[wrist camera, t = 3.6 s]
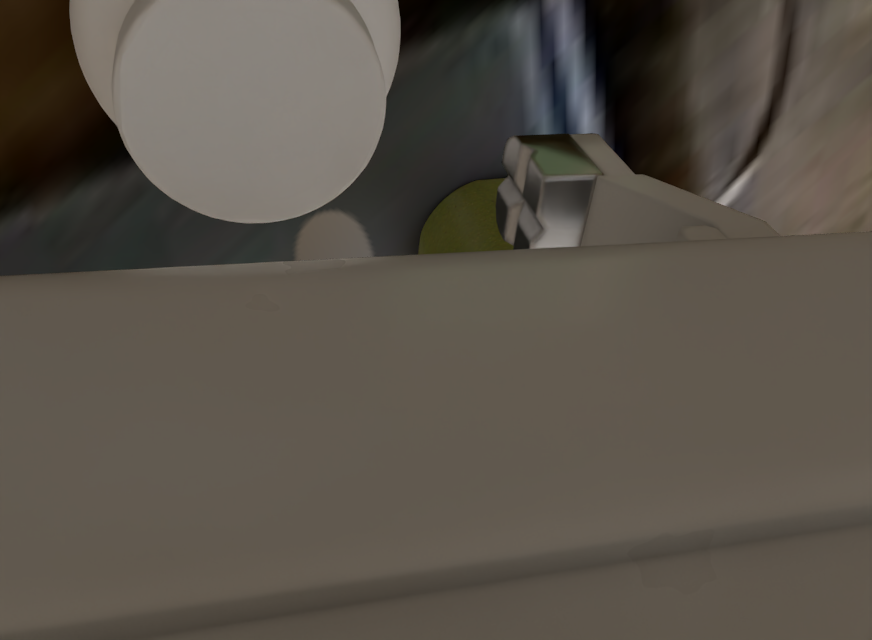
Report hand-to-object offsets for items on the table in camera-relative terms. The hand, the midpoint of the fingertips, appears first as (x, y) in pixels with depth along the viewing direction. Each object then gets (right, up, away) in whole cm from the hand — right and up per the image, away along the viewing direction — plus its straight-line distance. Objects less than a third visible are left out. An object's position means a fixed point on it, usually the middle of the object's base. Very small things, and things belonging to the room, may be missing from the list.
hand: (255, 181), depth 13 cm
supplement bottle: (-3, +9, +11) cm, 15 cm away
